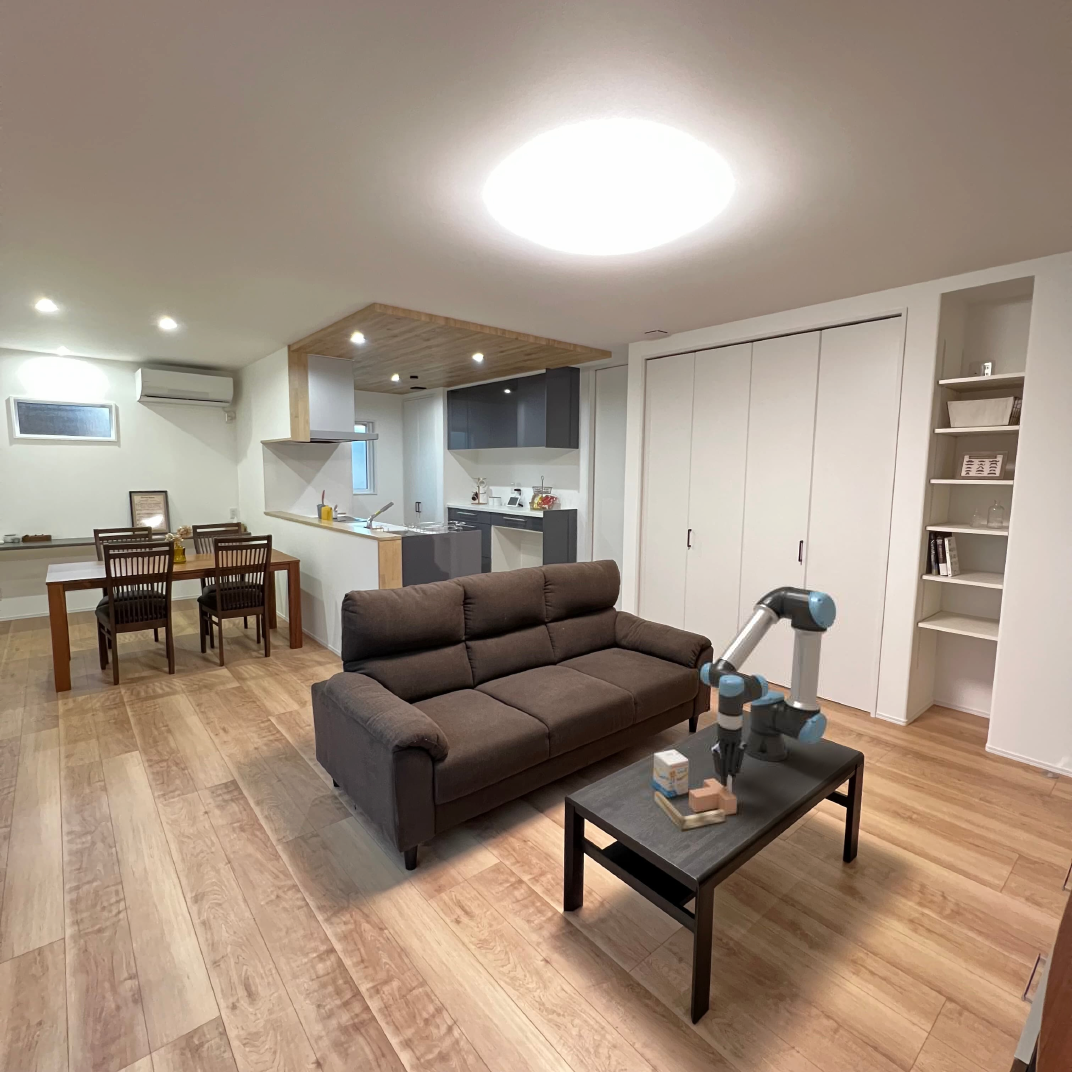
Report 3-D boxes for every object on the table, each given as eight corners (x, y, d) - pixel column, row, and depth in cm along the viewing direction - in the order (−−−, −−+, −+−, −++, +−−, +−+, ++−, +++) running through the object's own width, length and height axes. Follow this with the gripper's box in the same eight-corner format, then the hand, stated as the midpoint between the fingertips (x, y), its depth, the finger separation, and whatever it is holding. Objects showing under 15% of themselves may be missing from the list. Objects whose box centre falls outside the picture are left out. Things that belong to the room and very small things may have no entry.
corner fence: (694, 792, 190) (695, 784, 189) (724, 820, 174) (724, 811, 174) (654, 800, 185) (654, 792, 185) (681, 830, 170) (681, 820, 170)
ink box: (667, 798, 186) (668, 764, 185) (652, 785, 194) (653, 753, 193) (688, 792, 190) (689, 759, 188) (673, 780, 198) (674, 748, 196)
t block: (703, 819, 175) (703, 804, 174) (681, 798, 186) (682, 784, 186) (736, 812, 179) (736, 797, 178) (713, 792, 190) (713, 778, 189)
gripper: (739, 717, 187) (736, 785, 190) (705, 722, 183) (702, 791, 186) (754, 726, 180) (751, 797, 183) (719, 732, 176) (716, 804, 179)
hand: (726, 794), depth 184 cm, fingers closed
